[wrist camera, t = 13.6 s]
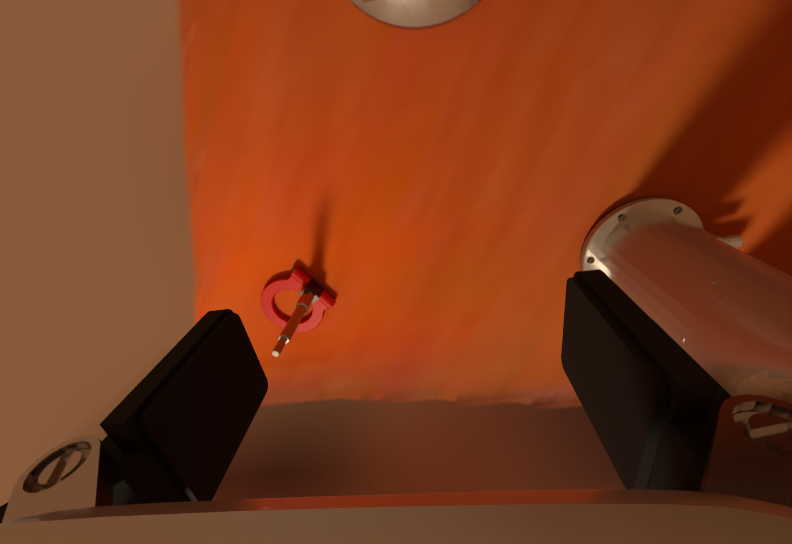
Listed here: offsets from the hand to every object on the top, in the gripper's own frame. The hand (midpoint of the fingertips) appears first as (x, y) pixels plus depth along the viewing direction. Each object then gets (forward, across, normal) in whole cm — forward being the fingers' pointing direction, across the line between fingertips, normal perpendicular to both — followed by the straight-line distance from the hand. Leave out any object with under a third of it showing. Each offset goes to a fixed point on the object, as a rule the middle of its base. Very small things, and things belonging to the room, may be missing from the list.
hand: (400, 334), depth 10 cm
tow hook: (+31, +18, +16) cm, 39 cm away
